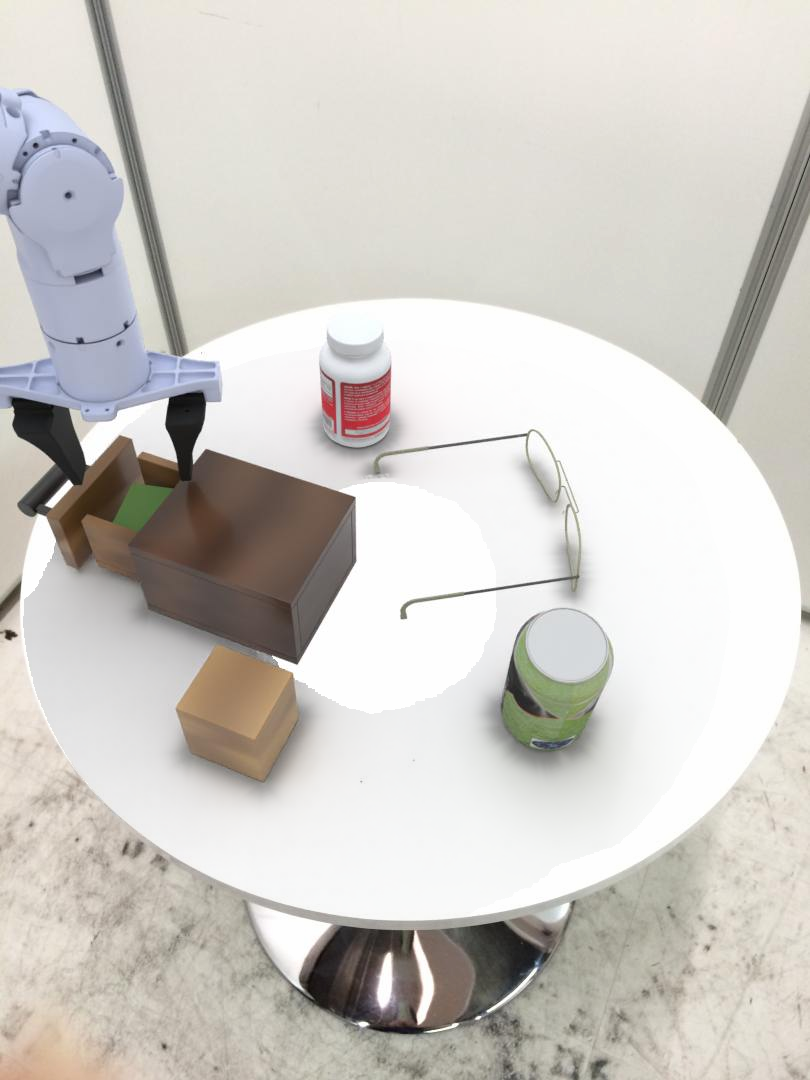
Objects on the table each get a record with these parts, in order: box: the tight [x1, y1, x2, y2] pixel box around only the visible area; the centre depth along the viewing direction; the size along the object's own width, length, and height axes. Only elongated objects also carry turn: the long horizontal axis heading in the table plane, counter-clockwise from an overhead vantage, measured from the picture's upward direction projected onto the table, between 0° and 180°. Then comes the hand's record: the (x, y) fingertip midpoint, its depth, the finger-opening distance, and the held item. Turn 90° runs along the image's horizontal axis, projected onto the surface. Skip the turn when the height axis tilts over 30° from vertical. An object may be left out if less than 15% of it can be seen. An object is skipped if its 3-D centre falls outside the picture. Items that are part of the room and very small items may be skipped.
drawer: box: [16, 434, 181, 583], centre depth 67 cm, size 16×9×6 cm, turn 68°
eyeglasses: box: [373, 428, 582, 621], centre depth 70 cm, size 16×15×5 cm
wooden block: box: [175, 644, 299, 783], centre depth 57 cm, size 6×5×6 cm
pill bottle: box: [318, 310, 392, 448], centre depth 76 cm, size 6×6×11 cm
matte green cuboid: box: [113, 483, 173, 532], centre depth 67 cm, size 5×4×3 cm
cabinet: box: [128, 448, 357, 666], centre depth 65 cm, size 13×11×8 cm
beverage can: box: [500, 606, 615, 751], centre depth 56 cm, size 6×7×12 cm
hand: (133, 473), depth 63 cm, fingers open, 7 cm apart
